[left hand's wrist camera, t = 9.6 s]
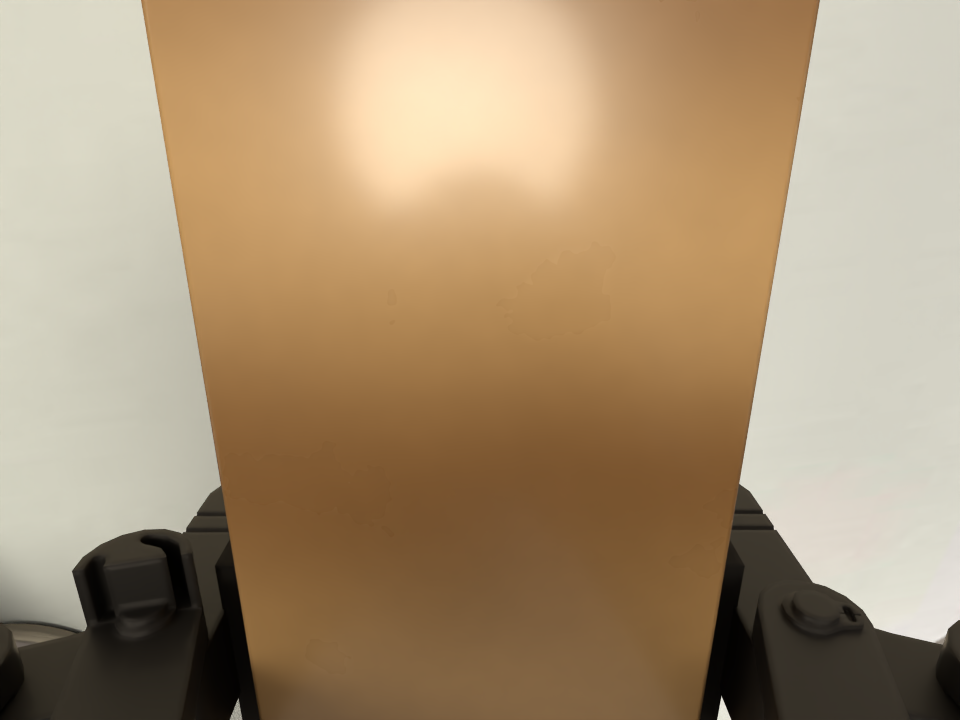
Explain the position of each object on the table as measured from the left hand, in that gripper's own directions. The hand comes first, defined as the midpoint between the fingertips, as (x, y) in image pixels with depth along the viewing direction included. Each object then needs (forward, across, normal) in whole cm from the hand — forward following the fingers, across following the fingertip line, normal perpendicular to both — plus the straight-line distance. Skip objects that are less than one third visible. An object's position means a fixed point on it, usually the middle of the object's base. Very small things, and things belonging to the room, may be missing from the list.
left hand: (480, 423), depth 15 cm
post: (+1, 0, -26) cm, 26 cm away
